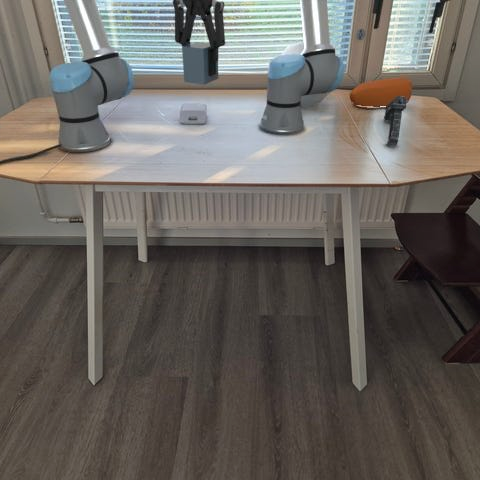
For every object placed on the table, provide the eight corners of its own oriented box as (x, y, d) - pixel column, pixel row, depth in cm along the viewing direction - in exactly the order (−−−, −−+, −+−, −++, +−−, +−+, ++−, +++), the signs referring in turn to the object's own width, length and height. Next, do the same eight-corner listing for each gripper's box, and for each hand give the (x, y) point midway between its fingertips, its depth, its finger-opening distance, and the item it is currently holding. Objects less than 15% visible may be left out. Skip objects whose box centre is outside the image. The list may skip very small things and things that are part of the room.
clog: (353, 116, 162) (414, 107, 163) (355, 88, 156) (419, 80, 157) (344, 107, 172) (401, 99, 173) (345, 80, 165) (405, 72, 166)
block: (218, 78, 113) (217, 44, 108) (204, 84, 107) (203, 48, 102) (198, 76, 115) (197, 42, 110) (184, 82, 110) (181, 46, 105)
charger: (207, 110, 158) (206, 123, 146) (183, 110, 158) (180, 123, 146) (206, 98, 156) (205, 110, 143) (182, 98, 155) (179, 110, 143)
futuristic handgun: (389, 146, 153) (397, 104, 149) (399, 145, 125) (409, 94, 122) (379, 144, 154) (386, 103, 150) (386, 144, 126) (395, 93, 122)
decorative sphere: (262, 73, 173) (275, 25, 150) (318, 71, 177) (338, 25, 154) (272, 121, 166) (286, 79, 143) (329, 118, 170) (353, 77, 147)
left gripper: (240, -28, 96) (239, 74, 109) (171, -30, 103) (178, 66, 116) (225, -28, 91) (226, 80, 104) (154, -30, 98) (163, 72, 111)
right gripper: (485, -73, 91) (455, 32, 103) (373, -72, 100) (357, 25, 112) (486, -76, 86) (454, 36, 98) (366, -74, 94) (351, 28, 106)
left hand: (201, 73), depth 110 cm, fingers closed on block, 6 cm apart
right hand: (402, 30), depth 105 cm, fingers open, 13 cm apart
